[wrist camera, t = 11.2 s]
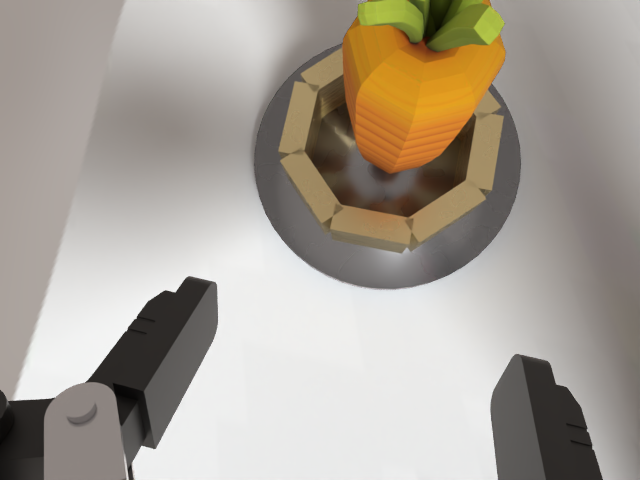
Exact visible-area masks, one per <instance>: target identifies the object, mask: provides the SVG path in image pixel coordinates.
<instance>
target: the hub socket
mask: <svg viewBox="0 0 640 480" xmlns="http://www.w3.org/2000/svg"><path fill="white" fill-rule="evenodd" d="M342 44H343V43H342ZM342 44H340V45H337V46H335V47H332V48H330V49H328V50H326V51H324V52H322V53H320V54H318V55H317V56H315V57H313V58H312V59H310V60H309V61H308V62H306V63H305V64H304V65H302V66H301V67H300V68H299V69H297V70H296V71H295V72H294V73H293V74H292V75H291V76H290V77H289V78H288V79H287V80H286V81H285V83H284V84H283V85H282V86H281V87H280V89H279V90H278V91H277V93H276V94H275V96H274V98H273V99H272V101H271V102H270V104H269V106H268V108H267V110H266V112H265V115H264V117H263V119H262V122H261V125H260V129H259V132H258V136H257V142H256V147H255V164H254V166H255V177H256V184H257V188H258V192H259V197H260V200H261V202H262V205H263V208H264V210H265V213H266V215H267V217H268V218H269V220H270V222H271V224H272V226H273V227H274V229H275V230H276V232H277V233H278V234H279V236H280V237H281V238H282V240H283V241H284V242H285V244H286V245H287V246H288V247H289V248H290V249H291V250H292V251H293V252H294V253H295V254H296V255H297V256H298V257H299V258H301V259H302V260H303V261H304V262H306V263H307V264H308V265H309V266H311V267H312V268H314V269H316V270H317V271H319V272H321V273H322V274H324V275H326V276H328V277H330V278H333V279H335V280H337V281H340V282H342V283H346V284H349V285H353V286H356V287H361V288H368V289H375V290H396V289H404V288H412V287H416V286H419V285H423V284H427V283H430V282H432V281H435V280H437V279H440V278H442V277H445V276H447V275H449V274H451V273H453V272H455V271H456V270H458V269H460V268H462V267H463V266H465V265H466V264H467V263H469V262H470V261H471V260H473V259H474V258H475V257H477V256H478V255H479V254H480V253H481V252H482V251H483V250H484V249H485V248H486V247H487V246H488V245H489V244H490V243H491V242H492V240H493V239H494V238H495V236H496V235H497V234H498V232H499V231H500V230H501V228H502V226H503V224H504V223H505V221H506V219H507V217H508V215H509V214H510V211H511V208H512V206H513V203H514V200H515V198H516V194H517V189H518V185H519V180H520V168H521V158H520V145H519V140H518V135H517V131H516V128H515V125H514V122H513V119H512V116H511V114H510V112H509V110H508V108H507V106H506V104H505V102H504V100H503V99H502V97H501V96H500V94H499V93H498V91H497V90H496V89H495V87H494V86H493V85H492V84H491V85H490V87H489V88H488V90H487V91H486V93H485V95H484V96H483V98H482V100H481V101H480V103H479V104H478V106H477V108H476V109H475V111H474V112H473V114H472V116H471V117H470V119H469V120H468V121H467V123H466V124H465V125H464V127H463V128H462V129H461V130H460V132H459V133H458V134H457V136H456V137H455V138H454V140H453V141H452V142H451V143H450V144H449V145H448V147H447V148H446V149H445V150H444V151H443V152H442V153H441V155H439V156H438V157H436V158H435V159H433V160H431V161H430V162H428V163H426V164H424V165H422V166H420V167H417V168H413V169H409V170H404V171H400V172H396V173H391V174H389V173H387V172H385V171H383V170H382V169H380V168H378V167H377V166H375V165H373V164H371V163H370V162H368V161H366V160H365V159H364V158H363V157H362V155H361V153H360V151H359V149H358V146H357V143H356V140H355V136H354V132H353V128H352V124H351V120H350V116H349V112H348V107H347V103H346V98H345V87H344V77H343V53H342Z"/></svg>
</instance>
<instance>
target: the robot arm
mask: <svg viewBox="0 0 640 480" xmlns="http://www.w3.org/2000/svg"><path fill="white" fill-rule="evenodd" d="M217 325H218V304H217V284H216V283H215V282H212V281H208V280H204V279H199V278H195V277H191V276H188V277H187V278H186V279H185V280H184V281H183V283H182V284H181V286H180V287H179V288H178V290H177V291H176V293H174V292H170V291H166V290H165V291H163V292H162V293H160V294H159V295H157V296H156V297H154V298H153V299H151V300H150V301H148V302H147V304H146V305H145V306H144V308H143V309H142V310H141V312H140V313H139V314H138V316H137V319H135V320H134V321H133V322H132V323H131V325H130V326H129V327H128V330H127V332H126V331H125V333H124V334H123V335H122V337H121V338H120V339H119V341H118V342H117V343H116V345H115V346H114V347H113V348H112V350H111V351H110V352H109V354H108V355H107V356H106V358H105V359H104V360H103V362H102V363H101V364H100V366H99V367H98V368H97V370H96V371H95V372H94V374H93V375H92V376H91V377H90V378H89V380H87V381H86V382H85V383H81V384H78V385H75V386H72V387H70V388H68V389H66V390H65V391H63V392H62V393H60V394H59V395H58V396H57V397H56V398H51V399H39V400H20V401H7V399H6V396H5V395H4V393H3V392H2V391H1V390H0V480H135V475H134V468H133V460H134V458H135V456H136V454H137V453H138V451H139V449H140V447H141V446H146V447H149V448H153V449H156V447H157V445H158V443H159V441H160V440H161V438H162V436H163V434H164V432H165V430H166V428H167V426H168V424H169V423H170V421H171V419H172V417H173V415H174V413H175V411H176V409H177V408H178V406H179V404H180V402H181V400H182V398H183V396H184V394H185V393H186V391H187V389H188V387H189V385H190V383H191V381H192V379H193V378H194V376H195V374H196V372H197V370H198V368H199V366H200V364H201V362H202V361H203V359H204V357H205V355H206V353H207V351H208V349H209V347H210V346H211V344H212V342H213V339H214V337H215V334H216V330H217ZM491 421H492V430H493V438H494V447H495V456H496V465H497V474H498V480H603V479H602V475H601V472H600V469H599V465H598V462H597V459H596V456H595V452H594V450H592V442H591V439H590V436H589V432H587V426H586V422H585V419H584V416H583V412H582V409H581V407H580V405H579V404H578V402H577V401H576V400H575V398H574V397H573V395H572V394H571V392H570V391H569V390H568V388H567V387H564V386H560V385H556V383H555V380H554V376H553V372H552V368H551V365H550V363H549V362H548V361H545V360H541V359H537V358H533V357H528V356H524V355H520V354H515V355H514V356H513V357H512V359H511V361H510V362H509V364H508V366H507V368H506V369H505V371H504V373H503V375H502V376H501V378H500V380H499V382H498V383H497V385H496V387H495V389H494V391H493V394H492V399H491Z"/></svg>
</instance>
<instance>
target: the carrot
mask: <svg viewBox="0 0 640 480" xmlns="http://www.w3.org/2000/svg"><path fill="white" fill-rule="evenodd" d="M504 24H505V23H504V21H503V20H502V18H501V16H500V15H499V13H497V12H496V11H495V10H494V9H493V8H492V7H491V4H490V1H489V0H368V1H367V2H364V3H361V4H358V16H357V18H356V19H355V21H354V22H353V24H352V25H351V27H350V28H349V30H348V31H347V33H346V35H345V37H344V38H343V44H342V53H343V77H344V87H345V98H346V103H347V107H348V112H349V116H350V120H351V124H352V128H353V132H354V136H355V140H356V143H357V146H358V149H359V151H360V153H361V155H362V157H363V158H364V159H365V160H366V161H368V162H370V163H371V164H373V165H375V166H377V167H378V168H380V169H382V170H383V171H385V172H387V173H389V174H391V173H396V172H400V171H404V170H409V169H413V168H417V167H420V166H422V165H424V164H426V163H428V162H430V161H431V160H433V159H435V158H436V157H438V156H439V155H441V153H442V152H443V151H444V150H445V149H446V148H447V147H448V145H449V144H450V143H451V142H452V141H453V140H454V138H455V137H456V136H457V134H458V133H459V132H460V130H461V129H462V128H463V127H464V125H465V124H466V123H467V121H468V120H469V119H470V117H471V116H472V114H473V112H474V111H475V109H476V108H477V106H478V104H479V103H480V101H481V100H482V98H483V96H484V95H485V93H486V91H487V90H488V88H489V87H490V85H491V83H492V82H493V80H494V78H495V77H496V75H497V74H498V72H499V70H500V69H501V67H502V65H503V63H504V61H505V54H506V51H505V48H504V45H503V42H502V39H501V36H500V31H501V30H502V28H503V26H504Z"/></svg>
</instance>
